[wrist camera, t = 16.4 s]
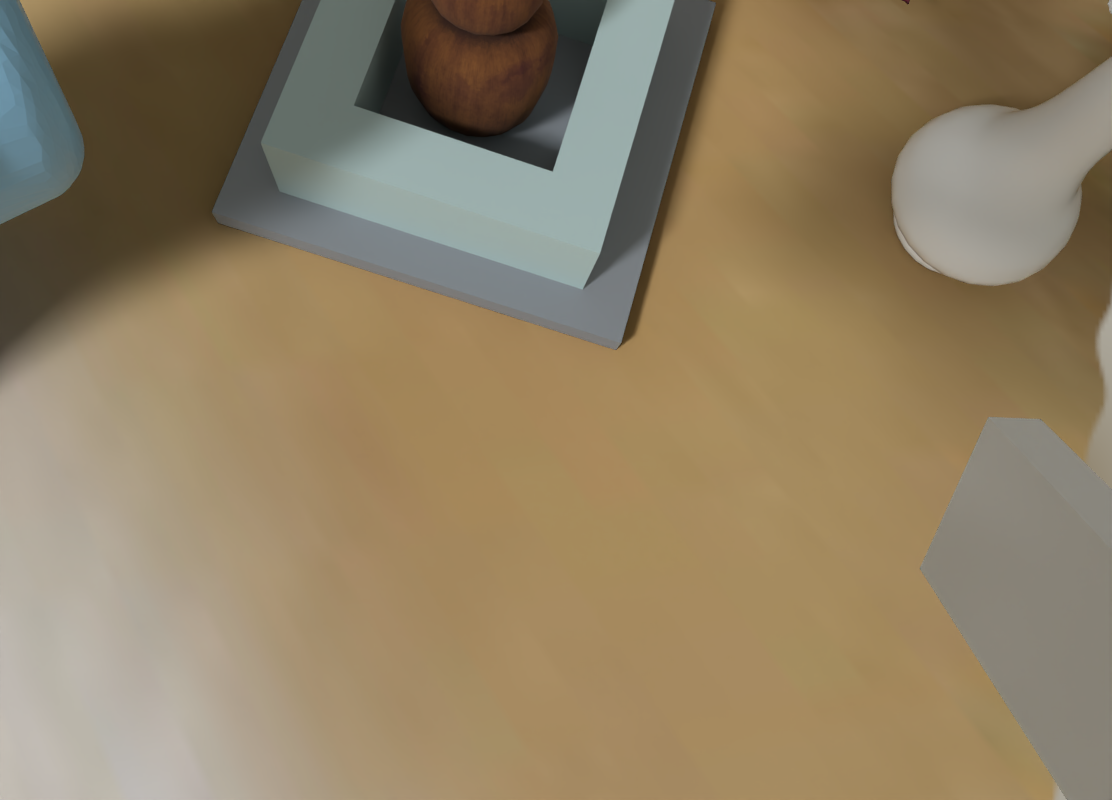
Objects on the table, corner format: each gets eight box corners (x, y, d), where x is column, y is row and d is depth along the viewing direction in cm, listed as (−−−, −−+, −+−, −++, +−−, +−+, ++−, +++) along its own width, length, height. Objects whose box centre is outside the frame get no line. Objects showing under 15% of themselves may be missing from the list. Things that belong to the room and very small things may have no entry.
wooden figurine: (395, 138, 41) (373, -106, 27) (418, 36, 43) (410, -248, 28) (532, 167, 42) (582, -56, 28) (550, 66, 43) (608, -197, 29)
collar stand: (218, 222, 41) (183, 165, 35) (357, -106, 45) (346, -202, 40) (615, 350, 42) (643, 313, 36) (709, 17, 47) (745, -60, 41)
